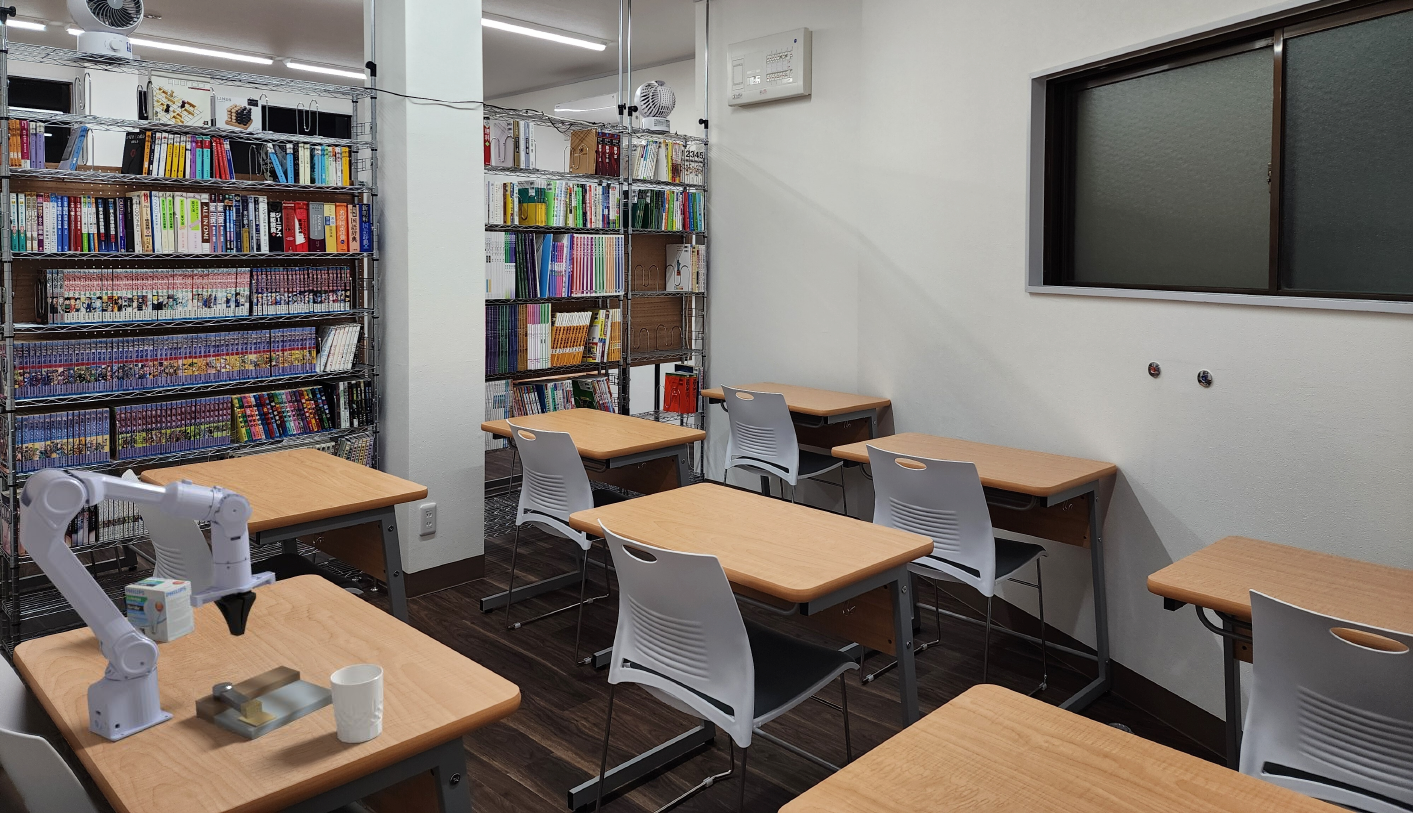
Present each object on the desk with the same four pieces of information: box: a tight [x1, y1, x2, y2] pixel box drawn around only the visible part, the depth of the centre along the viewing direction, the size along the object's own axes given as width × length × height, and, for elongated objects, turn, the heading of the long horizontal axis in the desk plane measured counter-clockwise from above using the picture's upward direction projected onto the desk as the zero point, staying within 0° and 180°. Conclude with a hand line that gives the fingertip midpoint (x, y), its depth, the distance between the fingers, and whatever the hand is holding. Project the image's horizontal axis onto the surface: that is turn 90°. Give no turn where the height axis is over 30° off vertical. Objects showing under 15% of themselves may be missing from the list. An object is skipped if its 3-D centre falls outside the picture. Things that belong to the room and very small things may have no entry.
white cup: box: [329, 663, 384, 744], centre depth 148 cm, size 8×8×10 cm
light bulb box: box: [124, 576, 195, 643], centre depth 190 cm, size 11×7×11 cm, turn 73°
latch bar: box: [211, 681, 263, 720], centre depth 151 cm, size 13×3×2 cm, turn 50°
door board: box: [194, 665, 333, 741], centre depth 157 cm, size 16×15×3 cm
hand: (237, 634), depth 163 cm, fingers closed
